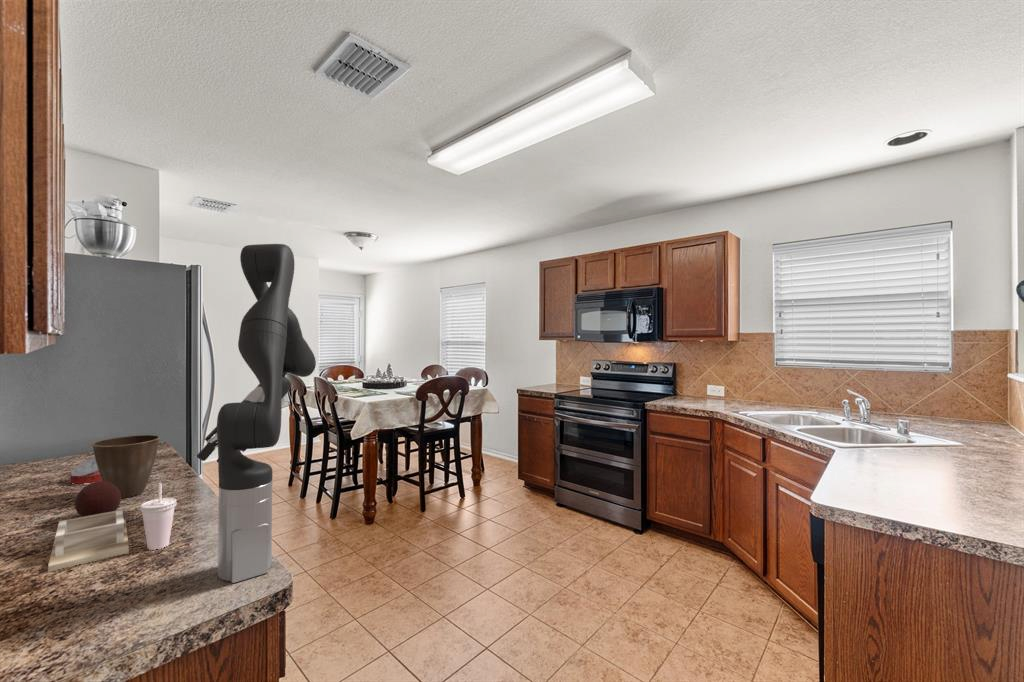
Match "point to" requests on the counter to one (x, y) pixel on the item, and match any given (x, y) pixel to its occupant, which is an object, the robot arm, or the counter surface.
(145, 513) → the smoothie
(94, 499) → the potato
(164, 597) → the counter surface
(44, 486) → the counter surface
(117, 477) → the plant pot
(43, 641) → the counter surface
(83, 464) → the canned food
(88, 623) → the counter surface
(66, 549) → the dock
